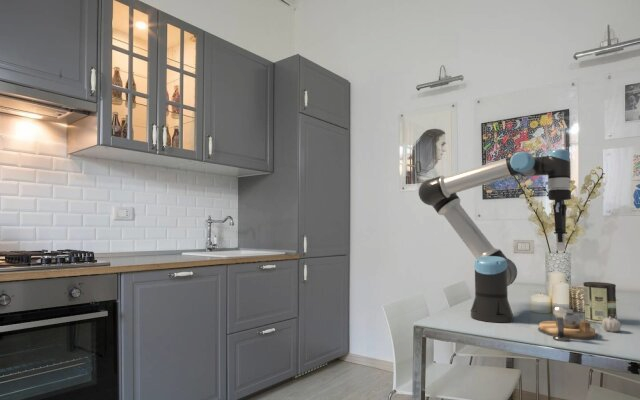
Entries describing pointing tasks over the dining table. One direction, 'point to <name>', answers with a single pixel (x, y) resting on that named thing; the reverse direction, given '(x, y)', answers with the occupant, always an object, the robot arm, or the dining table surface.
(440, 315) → the dining table surface
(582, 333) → the turntable
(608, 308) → the coffee can
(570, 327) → the cast cover
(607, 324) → the garlic
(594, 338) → the turntable base
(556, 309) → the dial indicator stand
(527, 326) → the dining table surface
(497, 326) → the dining table surface
